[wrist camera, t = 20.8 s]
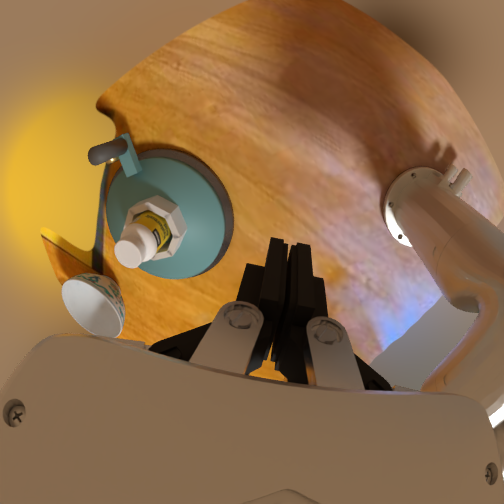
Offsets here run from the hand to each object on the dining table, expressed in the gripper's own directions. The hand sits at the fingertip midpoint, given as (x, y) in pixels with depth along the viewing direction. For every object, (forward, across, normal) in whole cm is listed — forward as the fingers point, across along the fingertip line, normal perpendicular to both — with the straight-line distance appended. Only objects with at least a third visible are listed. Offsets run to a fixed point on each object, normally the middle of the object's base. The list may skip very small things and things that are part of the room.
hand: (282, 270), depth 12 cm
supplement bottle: (+25, +17, +12) cm, 32 cm away
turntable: (+26, +18, +10) cm, 33 cm away
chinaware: (+27, +31, +31) cm, 52 cm away
